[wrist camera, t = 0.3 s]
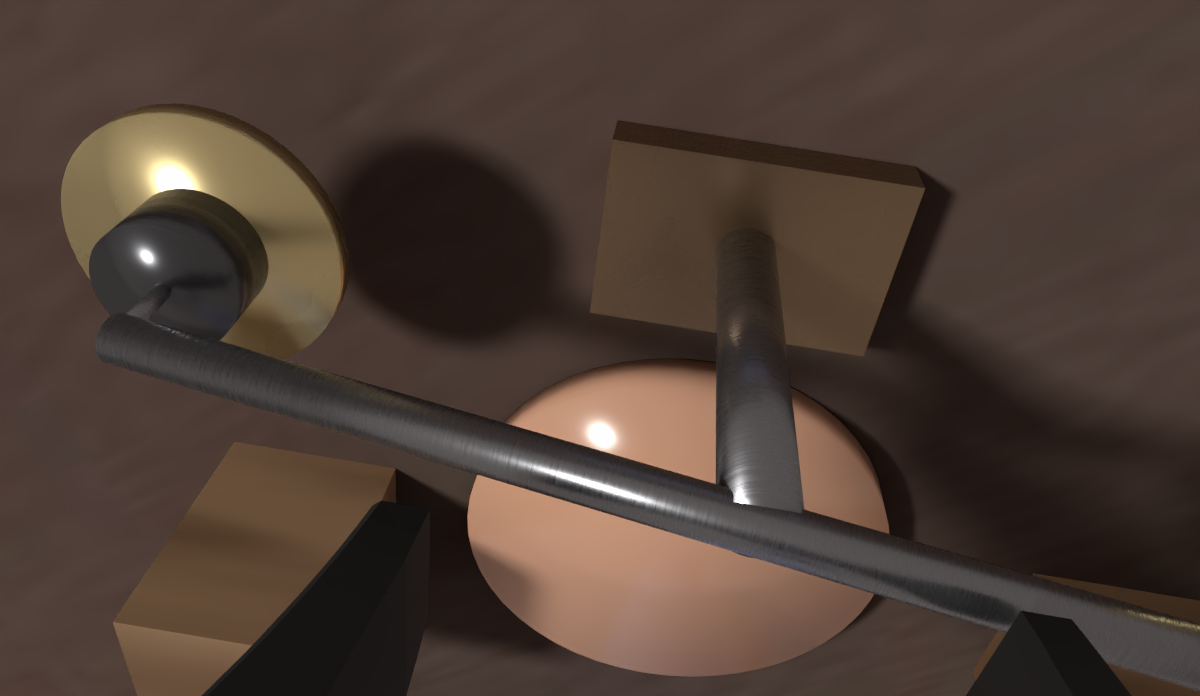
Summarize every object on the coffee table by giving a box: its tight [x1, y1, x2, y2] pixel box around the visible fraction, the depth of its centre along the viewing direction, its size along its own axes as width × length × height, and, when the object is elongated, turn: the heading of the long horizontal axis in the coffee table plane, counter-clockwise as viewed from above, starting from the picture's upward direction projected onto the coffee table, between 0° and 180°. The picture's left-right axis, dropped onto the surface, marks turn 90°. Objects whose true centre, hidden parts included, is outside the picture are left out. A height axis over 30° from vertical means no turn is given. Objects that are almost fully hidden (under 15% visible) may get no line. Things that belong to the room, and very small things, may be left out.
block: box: [113, 442, 396, 696], centre depth 23 cm, size 4×4×6 cm
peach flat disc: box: [467, 359, 889, 676], centre depth 23 cm, size 11×11×1 cm
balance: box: [61, 104, 1200, 692], centre depth 14 cm, size 25×5×11 cm, turn 83°
